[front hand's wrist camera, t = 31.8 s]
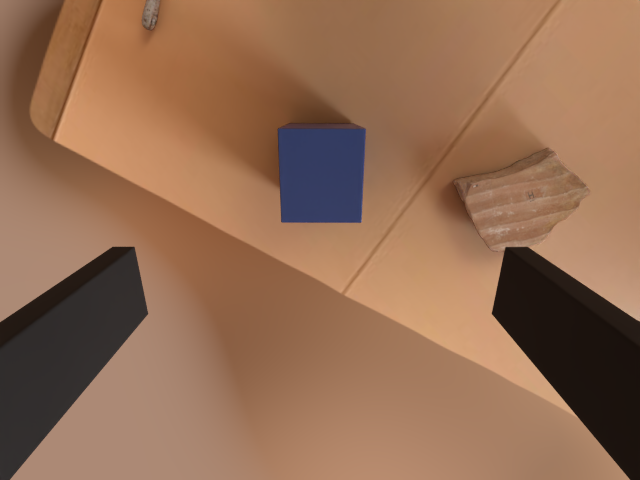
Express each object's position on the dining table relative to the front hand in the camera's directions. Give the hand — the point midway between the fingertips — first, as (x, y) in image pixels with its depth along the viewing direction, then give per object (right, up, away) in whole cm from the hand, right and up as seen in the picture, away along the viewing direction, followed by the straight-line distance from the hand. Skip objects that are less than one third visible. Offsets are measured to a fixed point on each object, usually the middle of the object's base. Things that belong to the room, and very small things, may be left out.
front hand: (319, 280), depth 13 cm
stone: (+23, +7, +30) cm, 38 cm away
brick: (0, +11, +29) cm, 31 cm away
